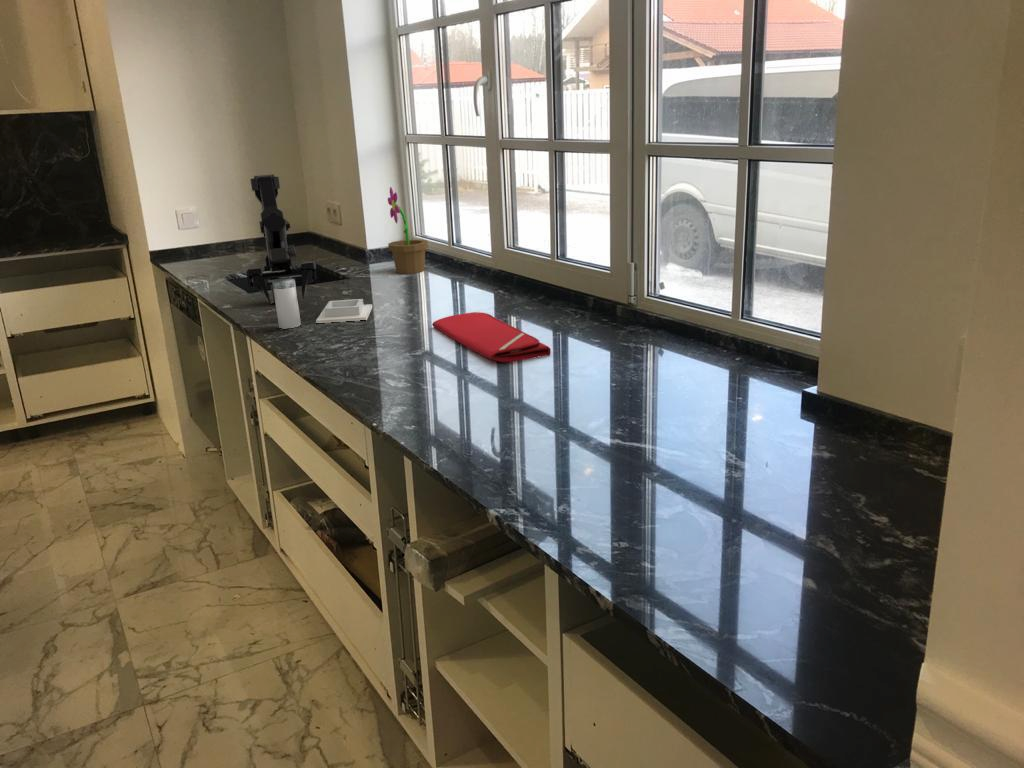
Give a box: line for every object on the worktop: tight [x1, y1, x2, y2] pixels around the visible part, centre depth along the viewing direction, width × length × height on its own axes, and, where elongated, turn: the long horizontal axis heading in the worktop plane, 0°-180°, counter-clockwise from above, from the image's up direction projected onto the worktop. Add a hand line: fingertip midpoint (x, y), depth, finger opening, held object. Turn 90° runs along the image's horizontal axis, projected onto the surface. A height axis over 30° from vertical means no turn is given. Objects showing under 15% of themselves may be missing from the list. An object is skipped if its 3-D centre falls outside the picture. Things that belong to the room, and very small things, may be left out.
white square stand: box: [315, 298, 373, 324], centre depth 245 cm, size 16×14×4 cm
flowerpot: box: [387, 186, 429, 275], centre depth 300 cm, size 14×14×30 cm
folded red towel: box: [431, 311, 552, 363], centre depth 212 cm, size 16×41×4 cm, turn 24°
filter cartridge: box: [272, 279, 302, 330], centre depth 235 cm, size 6×6×13 cm
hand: (286, 299), depth 233 cm, fingers open, 9 cm apart
